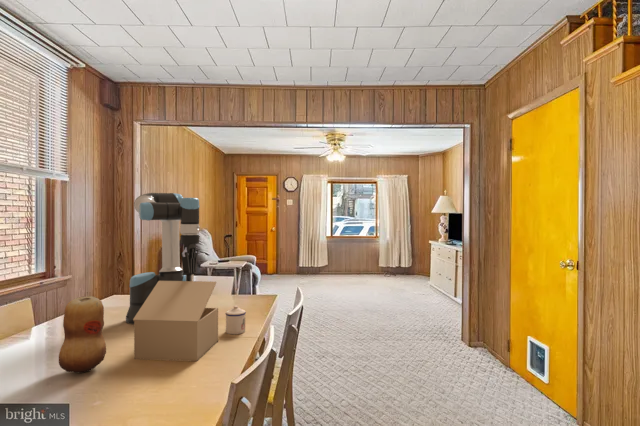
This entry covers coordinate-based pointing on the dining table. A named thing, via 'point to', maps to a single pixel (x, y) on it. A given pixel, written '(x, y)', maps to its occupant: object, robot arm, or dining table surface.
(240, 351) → the dining table surface
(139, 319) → the carton lid
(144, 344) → the carton
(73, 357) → the butternut squash
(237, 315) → the teacup with lid
